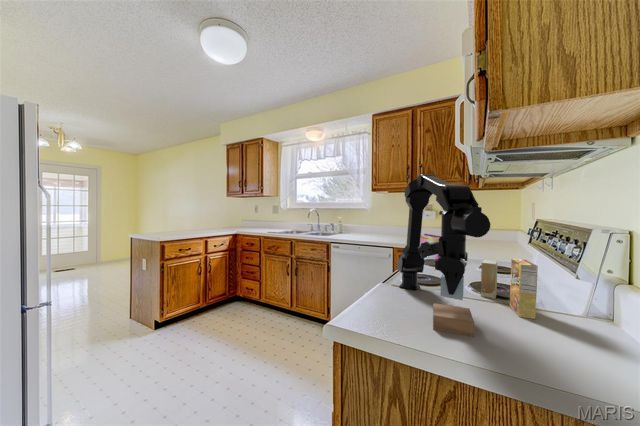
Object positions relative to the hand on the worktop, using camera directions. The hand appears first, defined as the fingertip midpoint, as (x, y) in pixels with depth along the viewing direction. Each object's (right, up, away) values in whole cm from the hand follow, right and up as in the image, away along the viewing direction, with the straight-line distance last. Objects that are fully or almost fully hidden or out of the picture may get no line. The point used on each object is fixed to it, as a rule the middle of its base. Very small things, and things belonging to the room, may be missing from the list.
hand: (452, 291), depth 66 cm
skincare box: (+25, -9, +23) cm, 35 cm away
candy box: (+26, -9, +9) cm, 29 cm away
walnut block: (0, -9, 0) cm, 9 cm away
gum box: (+37, -7, +94) cm, 101 cm away
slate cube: (0, -1, 0) cm, 1 cm away
